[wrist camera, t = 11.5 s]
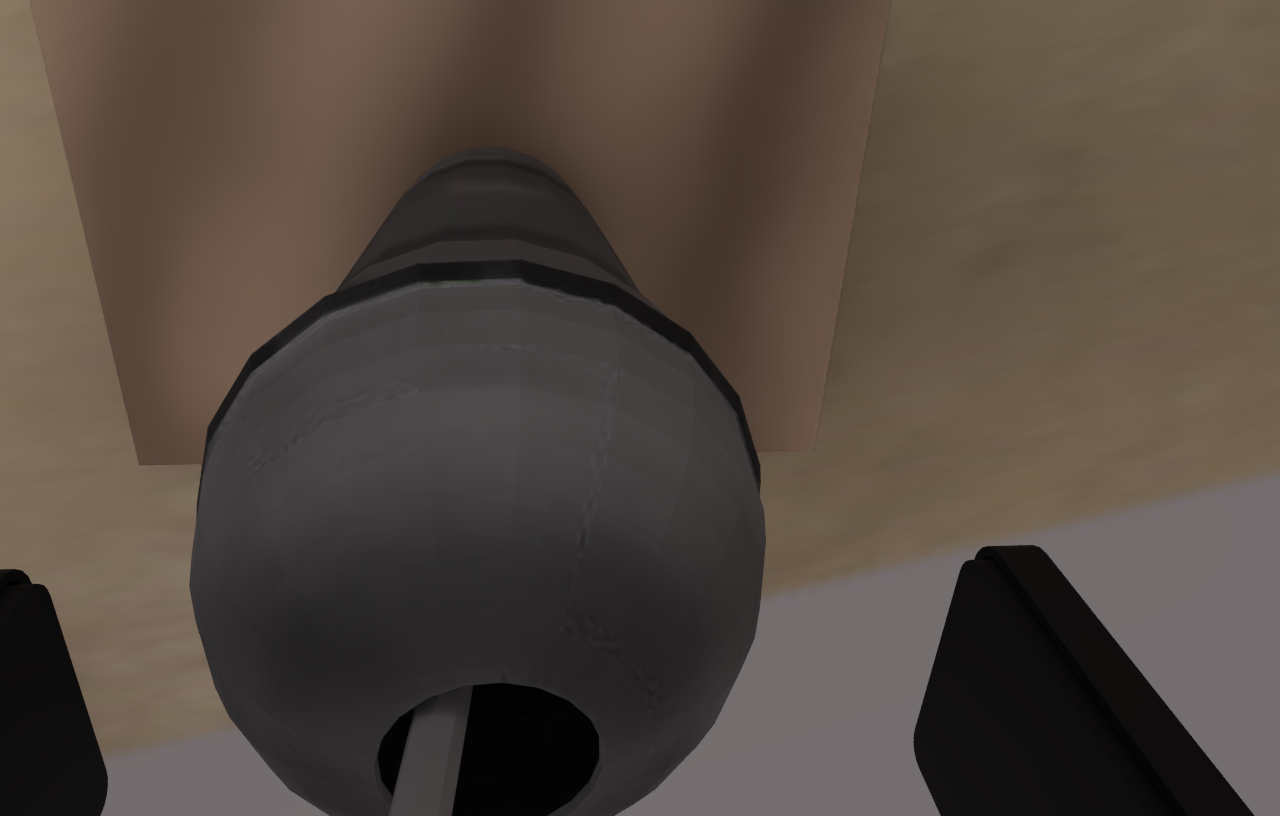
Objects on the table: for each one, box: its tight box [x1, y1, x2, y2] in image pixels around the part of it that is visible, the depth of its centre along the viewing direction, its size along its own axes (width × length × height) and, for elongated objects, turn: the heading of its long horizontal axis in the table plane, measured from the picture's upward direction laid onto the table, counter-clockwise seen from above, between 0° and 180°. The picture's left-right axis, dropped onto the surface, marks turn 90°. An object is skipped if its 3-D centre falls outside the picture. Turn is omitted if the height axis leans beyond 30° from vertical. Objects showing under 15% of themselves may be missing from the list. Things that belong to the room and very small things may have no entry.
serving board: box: [30, 0, 891, 465], centre depth 23 cm, size 18×12×2 cm, turn 87°
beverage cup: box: [189, 147, 766, 816], centre depth 13 cm, size 7×7×20 cm
